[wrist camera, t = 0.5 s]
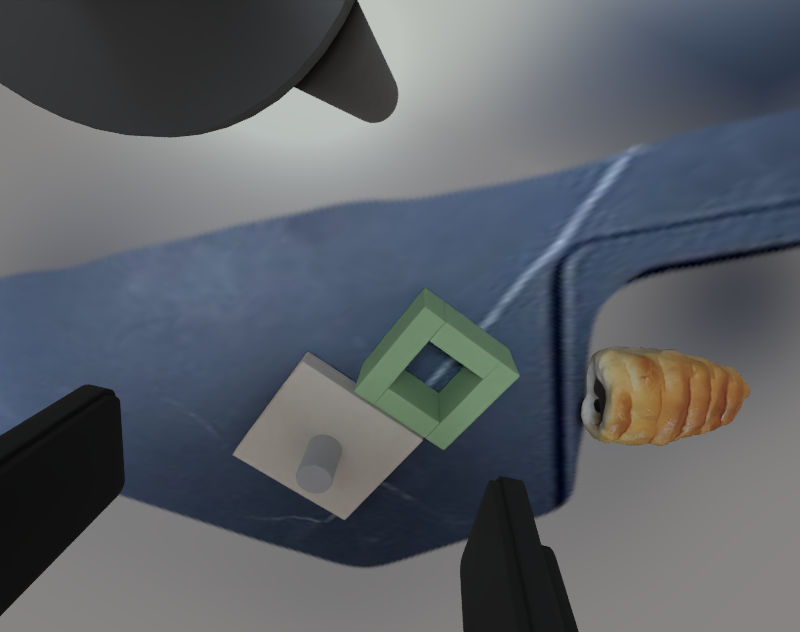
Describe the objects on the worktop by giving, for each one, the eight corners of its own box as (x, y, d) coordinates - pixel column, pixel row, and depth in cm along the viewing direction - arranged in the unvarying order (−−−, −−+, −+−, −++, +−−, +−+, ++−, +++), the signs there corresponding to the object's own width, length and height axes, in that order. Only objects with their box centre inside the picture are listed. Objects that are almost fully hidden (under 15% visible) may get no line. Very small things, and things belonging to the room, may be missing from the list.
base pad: (307, 350, 27) (286, 386, 23) (423, 427, 29) (422, 472, 25) (240, 441, 31) (211, 486, 27) (348, 505, 33) (336, 556, 28)
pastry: (740, 338, 25) (792, 369, 22) (715, 426, 28) (756, 467, 24) (585, 342, 26) (609, 372, 22) (574, 427, 28) (594, 467, 25)
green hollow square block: (425, 286, 25) (424, 306, 22) (509, 348, 26) (520, 376, 23) (362, 363, 28) (353, 391, 24) (442, 417, 29) (443, 451, 26)
